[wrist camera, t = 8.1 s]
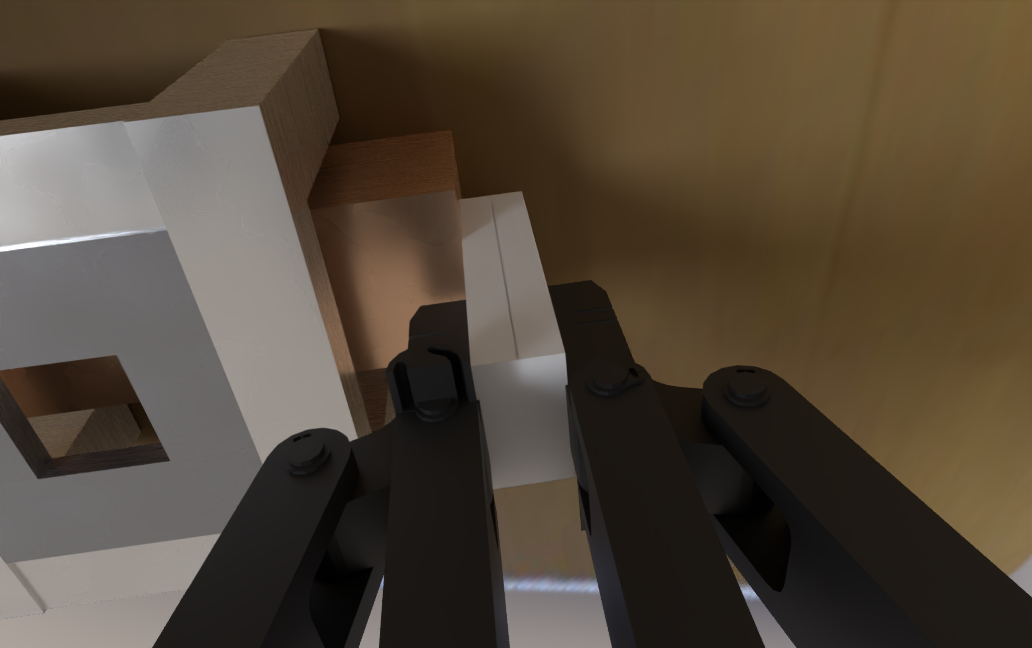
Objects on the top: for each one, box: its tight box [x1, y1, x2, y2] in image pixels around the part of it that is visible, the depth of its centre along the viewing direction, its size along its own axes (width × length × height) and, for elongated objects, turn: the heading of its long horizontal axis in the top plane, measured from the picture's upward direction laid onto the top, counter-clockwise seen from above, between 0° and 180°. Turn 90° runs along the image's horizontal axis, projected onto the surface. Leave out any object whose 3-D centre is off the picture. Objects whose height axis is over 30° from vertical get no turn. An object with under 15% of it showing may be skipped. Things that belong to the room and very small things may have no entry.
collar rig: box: [0, 29, 396, 620], centre depth 16 cm, size 10×10×6 cm
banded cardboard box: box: [0, 129, 466, 418], centre depth 16 cm, size 12×4×4 cm, turn 96°
